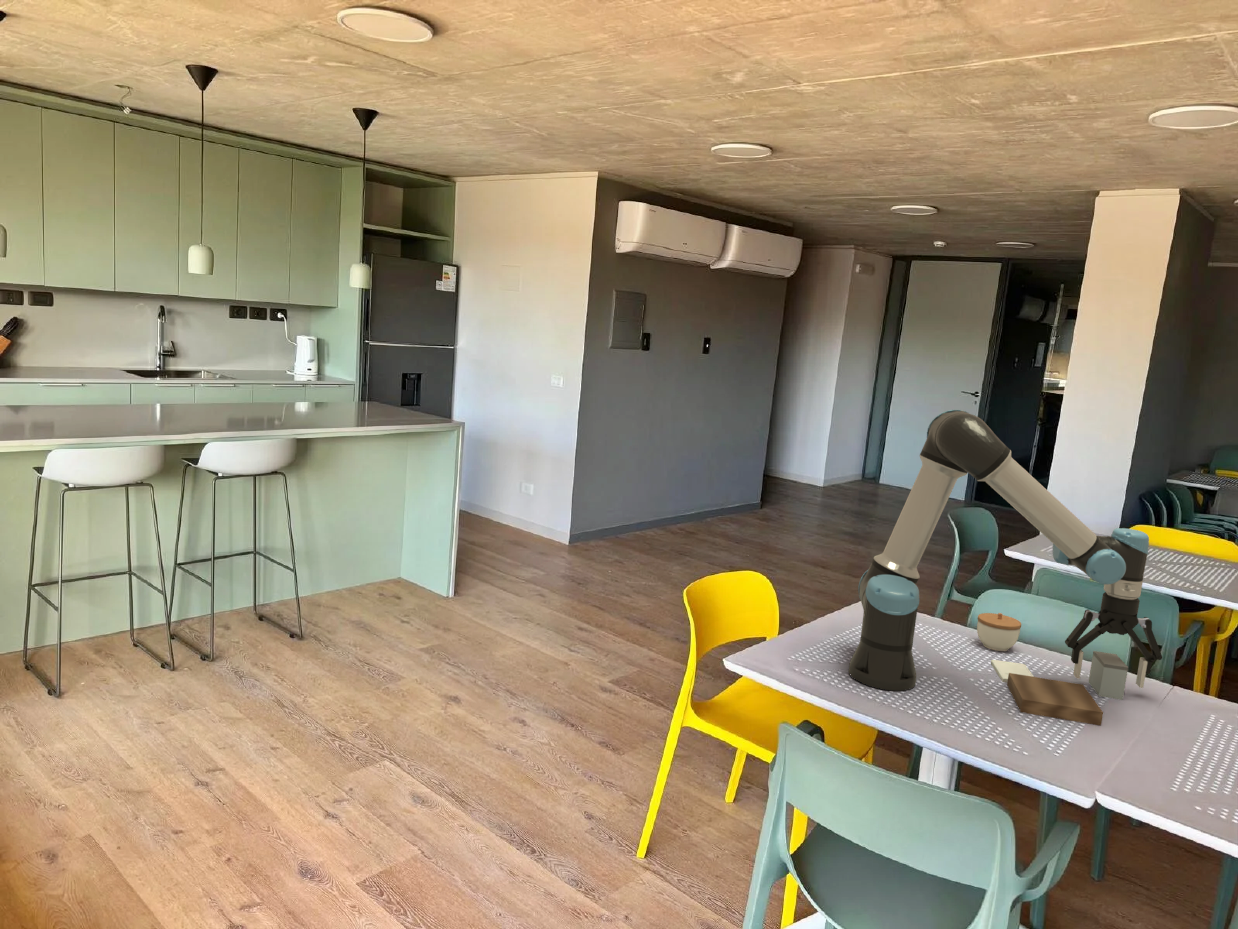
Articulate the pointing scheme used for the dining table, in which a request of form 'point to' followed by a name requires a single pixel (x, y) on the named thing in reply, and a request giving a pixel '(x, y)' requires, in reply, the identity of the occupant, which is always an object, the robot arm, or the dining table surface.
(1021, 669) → the external hard drive
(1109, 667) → the block
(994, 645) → the lidded jar
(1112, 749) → the dining table surface
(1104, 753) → the dining table surface
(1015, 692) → the walnut stand
